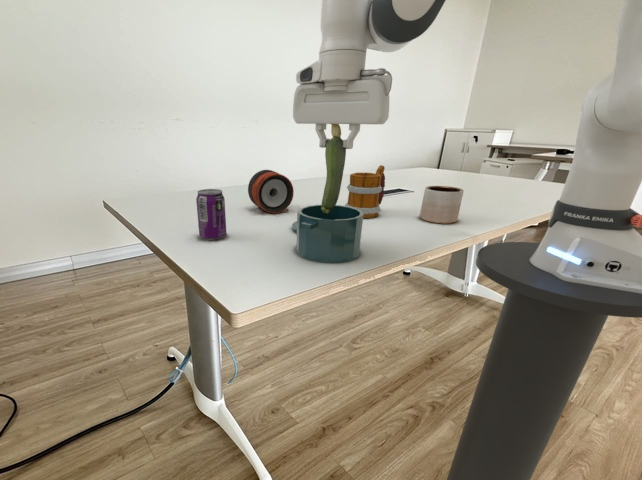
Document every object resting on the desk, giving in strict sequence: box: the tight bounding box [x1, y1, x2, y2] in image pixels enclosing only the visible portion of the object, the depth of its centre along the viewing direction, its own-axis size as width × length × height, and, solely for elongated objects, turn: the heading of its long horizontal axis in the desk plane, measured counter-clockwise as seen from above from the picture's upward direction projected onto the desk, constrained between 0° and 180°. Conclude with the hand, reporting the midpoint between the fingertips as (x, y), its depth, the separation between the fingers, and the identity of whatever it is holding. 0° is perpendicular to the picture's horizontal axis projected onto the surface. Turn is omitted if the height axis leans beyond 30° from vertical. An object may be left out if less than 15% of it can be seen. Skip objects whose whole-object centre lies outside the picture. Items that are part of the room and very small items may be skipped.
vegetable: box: [321, 124, 347, 214], centre depth 74 cm, size 4×4×20 cm
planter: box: [419, 185, 465, 225], centre depth 106 cm, size 11×11×10 cm
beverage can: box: [195, 188, 227, 241], centre depth 88 cm, size 7×7×12 cm
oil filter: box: [247, 169, 294, 214], centre depth 116 cm, size 13×12×13 cm
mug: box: [344, 164, 386, 219], centre depth 112 cm, size 11×16×15 cm, turn 131°
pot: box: [295, 204, 364, 264], centre depth 80 cm, size 15×20×10 cm
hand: (335, 148), depth 72 cm, fingers closed on vegetable, 4 cm apart
